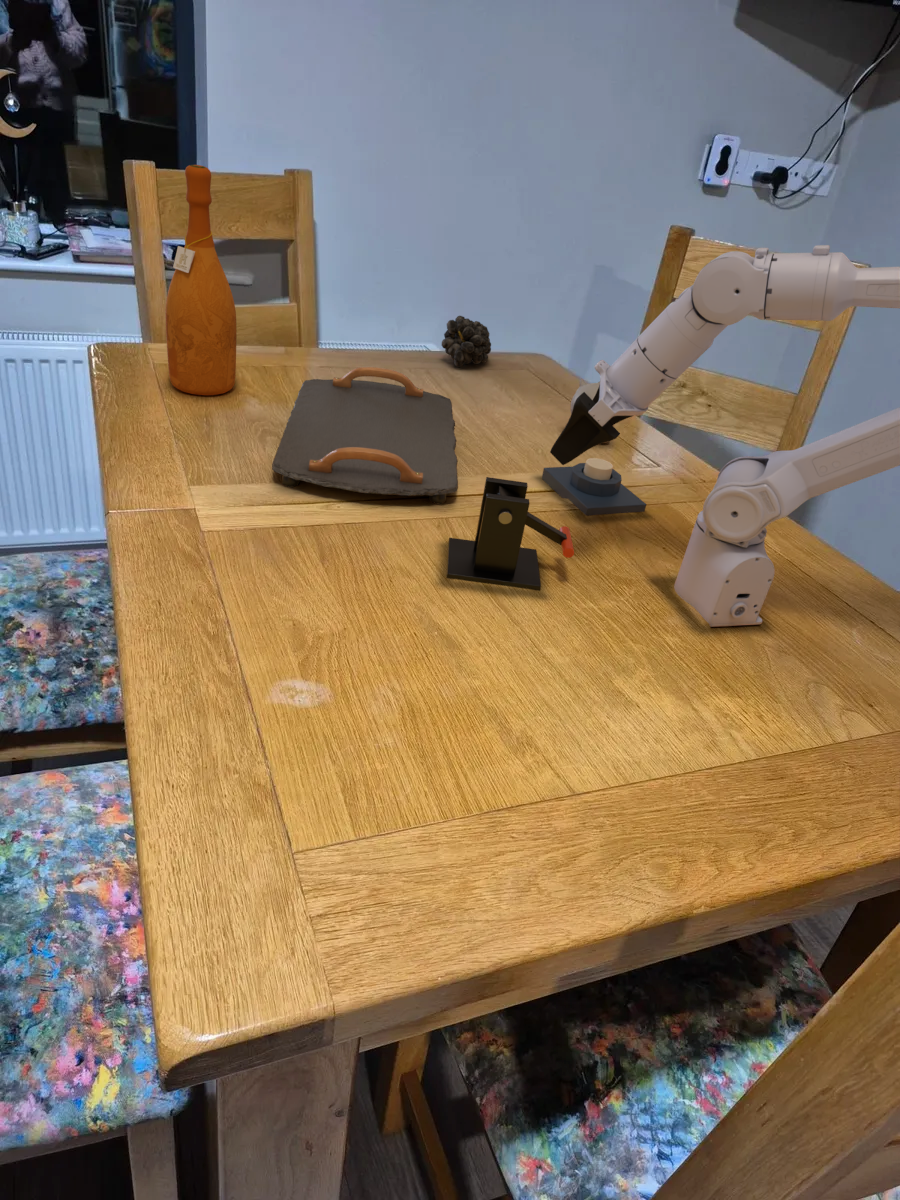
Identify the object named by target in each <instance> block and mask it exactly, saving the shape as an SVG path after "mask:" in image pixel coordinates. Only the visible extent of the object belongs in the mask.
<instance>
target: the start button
mask: <svg viewBox="0 0 900 1200" xmlns="http://www.w3.org/2000/svg"><path fill="white" fill-rule="evenodd" d="M584 463H585V467H584V471H583V474H585V475H586V476H588V477H590V478H593V479H597V480H609V479H610V477H611V473H612V469H614V464H612V463H611V461H608V460H606V459H603V458H599V457H590V458H587V459H586V460H585V462H584Z"/></svg>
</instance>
